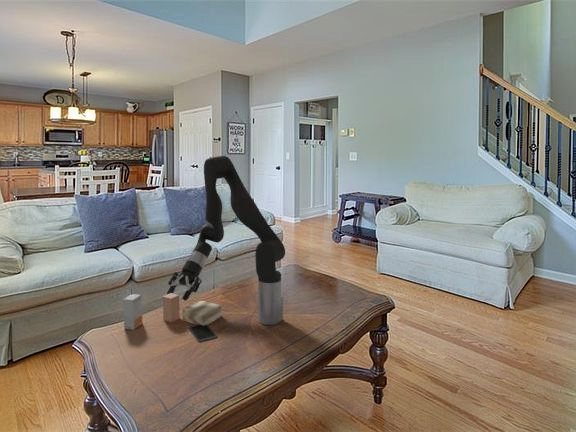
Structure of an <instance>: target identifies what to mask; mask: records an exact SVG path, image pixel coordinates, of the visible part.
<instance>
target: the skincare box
mask: <svg viewBox="0 0 576 432" xmlns="http://www.w3.org/2000/svg"><path fill="white" fill-rule="evenodd" d="M122 305H123V310H122V311H123V325H124V329H125V330H132V331H133V330H135V329H136V328H138V327H139V326H141V325H142V324H143V303H142V294H134V293H132V294H130V295H128V296H126V297H124V298H123V299H122Z"/></svg>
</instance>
